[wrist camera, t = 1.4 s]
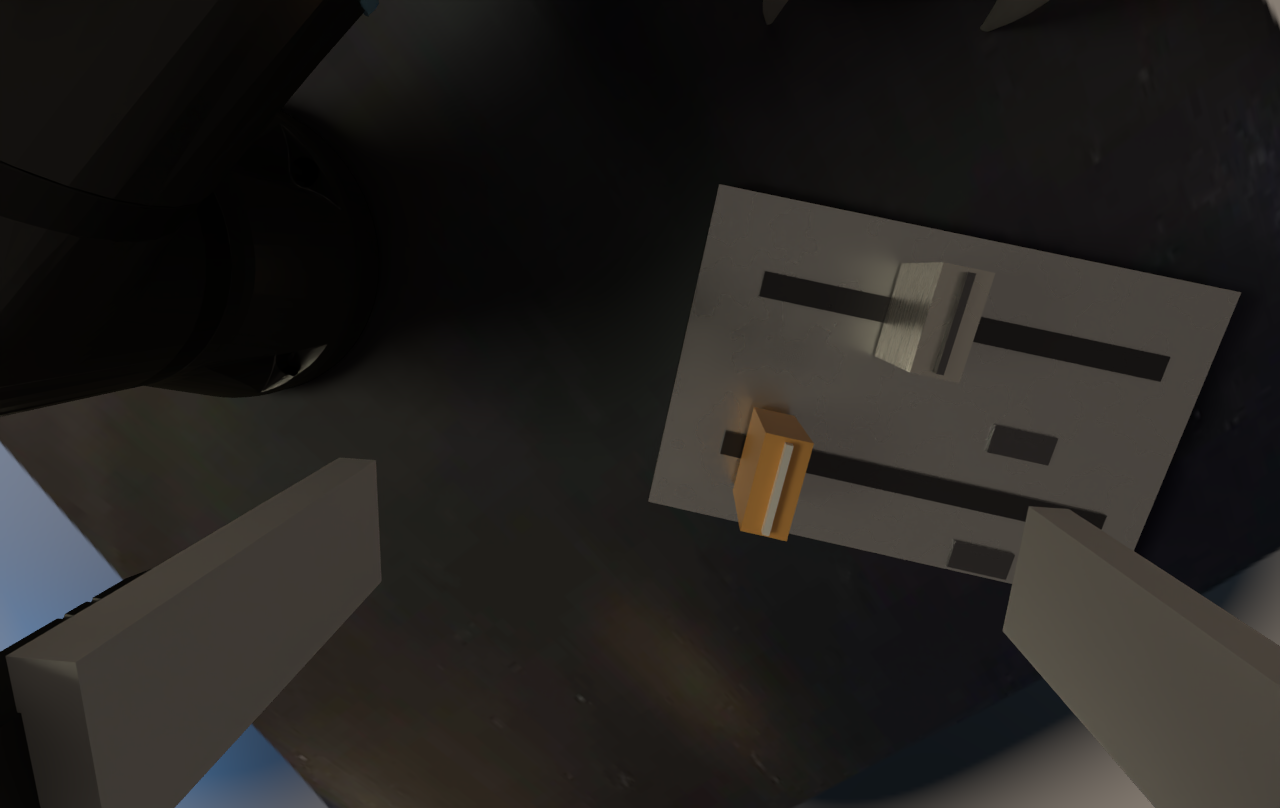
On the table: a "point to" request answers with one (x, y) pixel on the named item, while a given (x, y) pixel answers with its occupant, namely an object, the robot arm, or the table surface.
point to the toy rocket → (1007, 9)
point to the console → (931, 380)
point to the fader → (771, 473)
